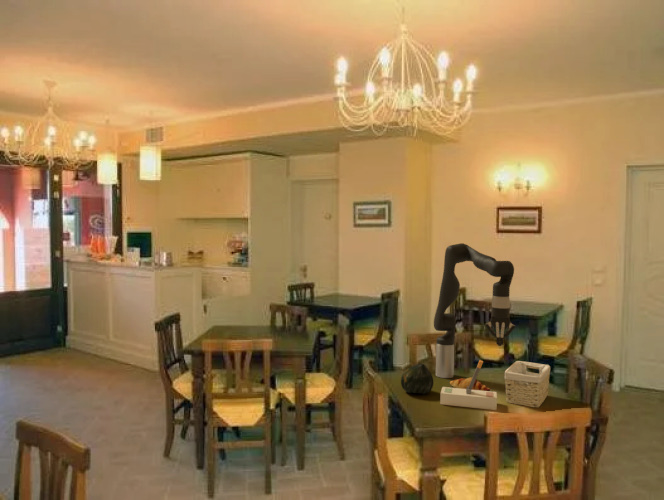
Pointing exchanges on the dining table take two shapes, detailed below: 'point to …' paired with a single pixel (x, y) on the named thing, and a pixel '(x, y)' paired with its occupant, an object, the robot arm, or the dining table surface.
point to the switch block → (468, 398)
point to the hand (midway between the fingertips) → (499, 345)
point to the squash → (417, 379)
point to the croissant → (466, 382)
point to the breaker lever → (475, 374)
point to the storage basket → (527, 383)
